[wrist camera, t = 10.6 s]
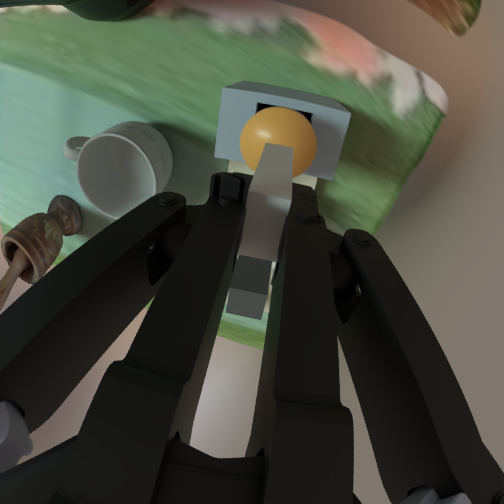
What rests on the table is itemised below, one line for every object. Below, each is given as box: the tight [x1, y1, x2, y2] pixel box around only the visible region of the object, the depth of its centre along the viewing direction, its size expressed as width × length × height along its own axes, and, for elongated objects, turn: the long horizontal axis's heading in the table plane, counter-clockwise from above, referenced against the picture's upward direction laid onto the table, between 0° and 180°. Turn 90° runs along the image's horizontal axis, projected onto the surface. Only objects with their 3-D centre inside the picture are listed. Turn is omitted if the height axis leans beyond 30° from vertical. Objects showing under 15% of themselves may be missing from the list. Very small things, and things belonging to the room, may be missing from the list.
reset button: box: [240, 105, 317, 178], centre depth 22 cm, size 5×5×7 cm
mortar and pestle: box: [0, 195, 82, 310], centre depth 35 cm, size 12×9×20 cm
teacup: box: [64, 121, 173, 220], centre depth 31 cm, size 14×11×8 cm
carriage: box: [226, 254, 277, 320], centre depth 29 cm, size 8×8×14 cm
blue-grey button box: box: [214, 81, 351, 181], centre depth 26 cm, size 6×10×10 cm, turn 81°
